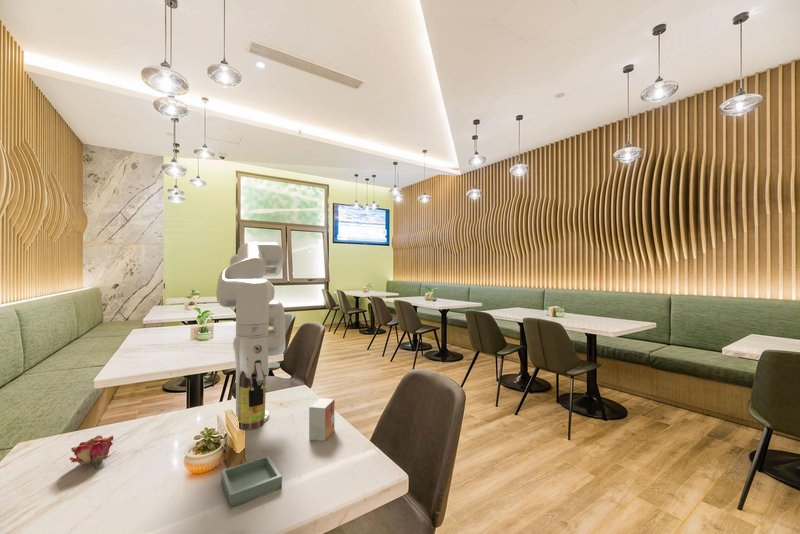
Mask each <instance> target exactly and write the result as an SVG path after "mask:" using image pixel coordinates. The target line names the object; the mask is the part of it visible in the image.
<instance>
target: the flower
mask: <svg viewBox="0 0 800 534" xmlns="http://www.w3.org/2000/svg"><path fill="white" fill-rule="evenodd" d="M112 441H114V435H110V436H108V437H104V436H102V435H97V436H95V437H93V438H90V439H89V440H87V441H82V442H80V443H79V445H78V446H75V447H71V450H70V451H71V452H72V453H73V455H74V456H75V457H73V456H70V457H69V460H70V461H71V463H78V464H81V465H86V466H89V465H93V470H95V469H98V464H99V463H102V462H103V461H104V460H107V459H108V458H110V456H111V455H113V454H114V453H115V451H113V452H112V453H111V454H109V452H110V449H111V447H112V446H113V444H114V443H113V442H112Z"/></svg>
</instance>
